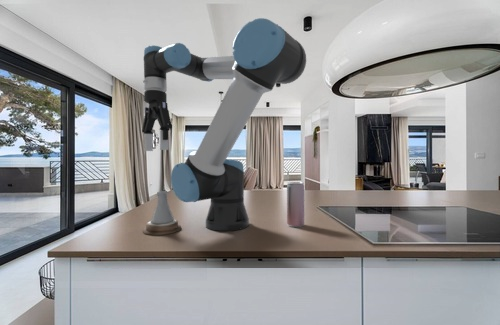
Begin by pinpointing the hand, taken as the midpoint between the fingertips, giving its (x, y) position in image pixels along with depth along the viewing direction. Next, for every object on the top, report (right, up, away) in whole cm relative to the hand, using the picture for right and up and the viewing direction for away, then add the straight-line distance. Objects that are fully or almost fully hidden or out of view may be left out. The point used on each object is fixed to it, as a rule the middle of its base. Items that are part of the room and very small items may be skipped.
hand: (156, 150), depth 92 cm
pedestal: (+5, -27, -8) cm, 28 cm away
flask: (+5, -24, -8) cm, 26 cm away
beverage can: (+50, -27, -3) cm, 57 cm away
